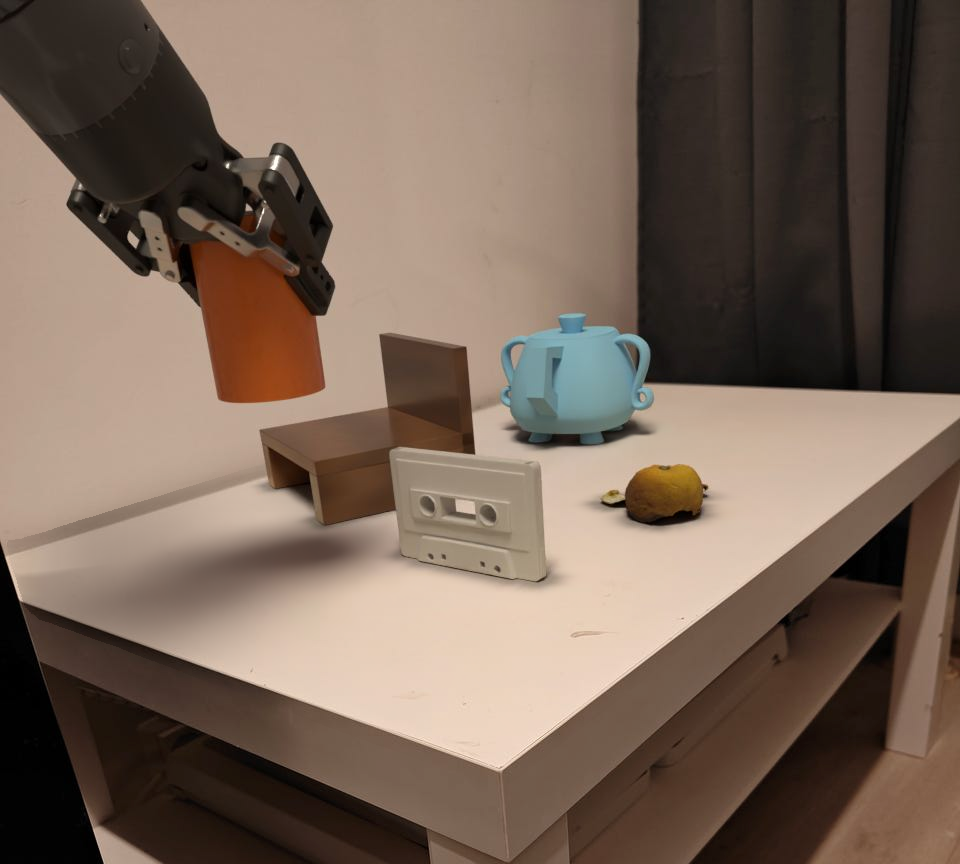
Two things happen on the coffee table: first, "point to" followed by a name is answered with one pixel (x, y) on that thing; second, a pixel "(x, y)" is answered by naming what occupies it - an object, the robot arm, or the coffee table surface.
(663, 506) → the fruit
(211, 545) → the coffee table surface
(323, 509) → the shelf
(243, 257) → the can
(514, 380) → the teapot
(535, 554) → the cassette
